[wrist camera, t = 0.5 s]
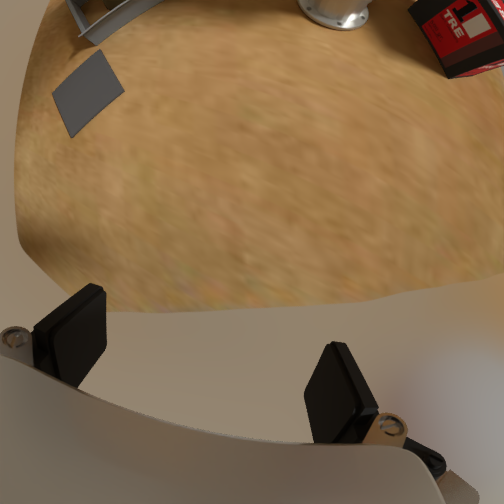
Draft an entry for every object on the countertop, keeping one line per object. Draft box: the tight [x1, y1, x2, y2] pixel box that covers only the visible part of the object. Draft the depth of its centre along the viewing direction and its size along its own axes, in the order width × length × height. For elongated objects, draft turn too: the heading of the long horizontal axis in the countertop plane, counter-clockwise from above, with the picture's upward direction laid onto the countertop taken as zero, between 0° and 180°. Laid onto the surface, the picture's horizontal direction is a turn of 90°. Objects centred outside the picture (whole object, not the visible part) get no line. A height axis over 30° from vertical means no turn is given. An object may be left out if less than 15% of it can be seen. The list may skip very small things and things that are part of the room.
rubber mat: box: [52, 49, 125, 138], centre depth 33 cm, size 12×12×1 cm
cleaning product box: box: [408, 0, 504, 79], centre depth 20 cm, size 16×9×20 cm, turn 24°
